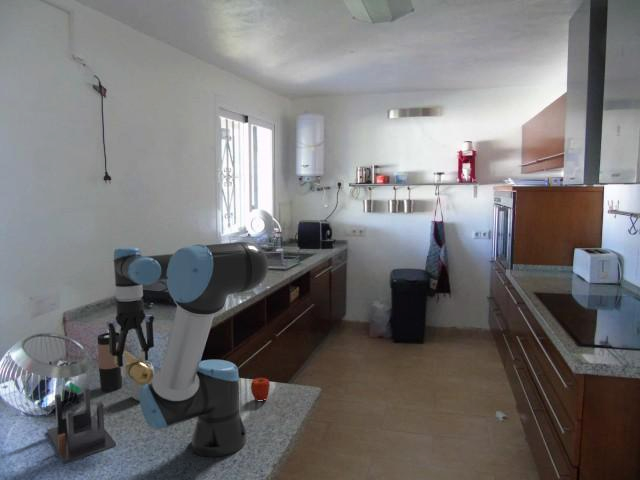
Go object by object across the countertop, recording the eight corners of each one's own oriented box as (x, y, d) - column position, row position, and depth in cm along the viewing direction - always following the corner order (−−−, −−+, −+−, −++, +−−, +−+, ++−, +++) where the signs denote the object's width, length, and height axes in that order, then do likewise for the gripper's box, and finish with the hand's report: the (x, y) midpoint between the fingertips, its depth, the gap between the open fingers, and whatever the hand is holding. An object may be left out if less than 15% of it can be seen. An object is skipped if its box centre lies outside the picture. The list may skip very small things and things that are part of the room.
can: (147, 402, 155) (145, 368, 154) (127, 401, 156) (126, 367, 155) (159, 393, 162) (157, 360, 161) (140, 391, 163) (139, 359, 162)
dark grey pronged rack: (116, 445, 127) (114, 405, 126) (64, 463, 119) (61, 420, 118) (94, 418, 144) (92, 382, 143) (47, 432, 135) (44, 394, 134)
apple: (248, 402, 154) (247, 381, 153) (256, 395, 159) (256, 374, 159) (265, 405, 152) (264, 383, 151) (272, 397, 157) (272, 376, 157)
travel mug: (101, 385, 170) (99, 333, 168) (124, 382, 172) (121, 331, 170) (98, 393, 162) (95, 339, 161) (121, 390, 165) (118, 337, 163)
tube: (150, 385, 132) (155, 368, 133) (133, 384, 129) (138, 366, 129) (127, 367, 147) (132, 351, 148) (111, 365, 144) (116, 349, 144)
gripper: (154, 292, 145) (157, 363, 147) (93, 301, 133) (98, 378, 135) (163, 296, 139) (167, 369, 141) (101, 305, 128) (105, 385, 129)
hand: (133, 373), depth 138 cm, fingers closed on tube, 5 cm apart
